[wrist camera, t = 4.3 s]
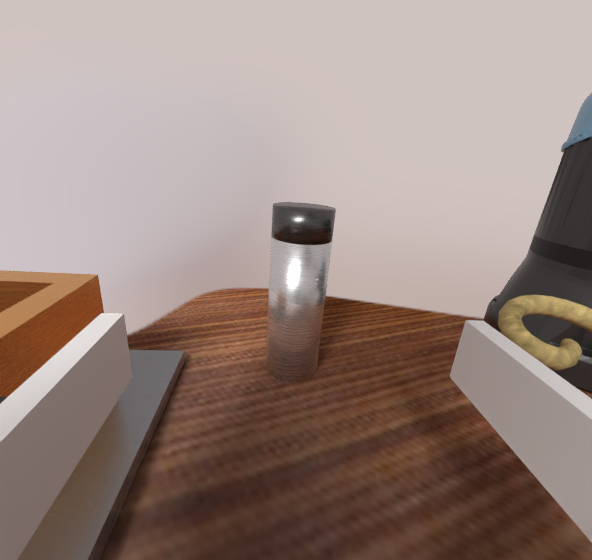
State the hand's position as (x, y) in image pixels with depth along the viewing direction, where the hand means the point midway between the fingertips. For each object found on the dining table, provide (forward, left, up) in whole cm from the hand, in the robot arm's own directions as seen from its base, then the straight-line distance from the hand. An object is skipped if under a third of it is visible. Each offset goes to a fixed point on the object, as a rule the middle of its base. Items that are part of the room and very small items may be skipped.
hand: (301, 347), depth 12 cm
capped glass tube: (-1, -10, -8) cm, 12 cm away
